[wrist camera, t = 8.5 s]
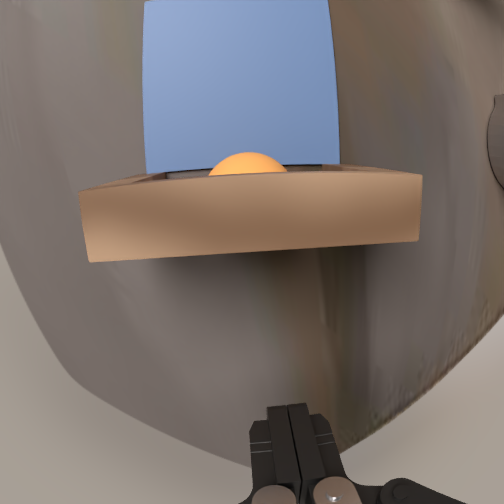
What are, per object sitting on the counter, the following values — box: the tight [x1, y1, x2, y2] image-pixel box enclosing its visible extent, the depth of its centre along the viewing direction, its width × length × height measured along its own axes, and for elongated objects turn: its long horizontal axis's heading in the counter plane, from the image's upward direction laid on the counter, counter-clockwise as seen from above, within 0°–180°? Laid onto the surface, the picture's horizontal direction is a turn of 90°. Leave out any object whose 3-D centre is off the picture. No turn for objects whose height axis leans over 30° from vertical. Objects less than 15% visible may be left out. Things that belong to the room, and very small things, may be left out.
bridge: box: [78, 164, 422, 262], centre depth 17 cm, size 3×14×9 cm, turn 92°
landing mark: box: [143, 0, 340, 174], centre depth 18 cm, size 13×13×1 cm
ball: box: [208, 152, 288, 176], centre depth 18 cm, size 6×6×6 cm
